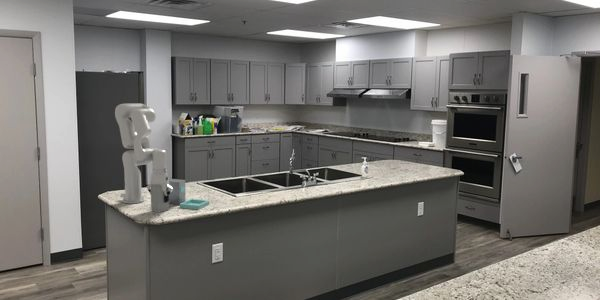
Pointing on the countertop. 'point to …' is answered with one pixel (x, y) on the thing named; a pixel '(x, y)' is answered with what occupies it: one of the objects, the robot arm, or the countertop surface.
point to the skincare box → (158, 199)
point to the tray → (194, 204)
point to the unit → (177, 192)
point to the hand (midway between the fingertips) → (159, 201)
